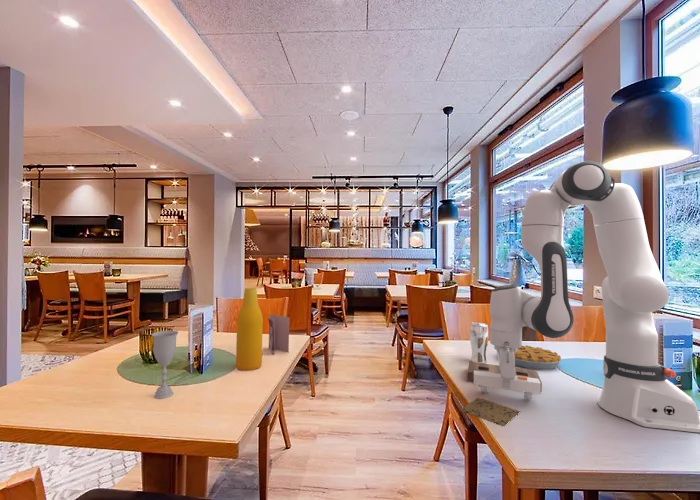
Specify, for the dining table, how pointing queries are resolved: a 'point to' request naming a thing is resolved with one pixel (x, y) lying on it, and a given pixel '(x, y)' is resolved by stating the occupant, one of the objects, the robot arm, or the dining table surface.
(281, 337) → the greeting card
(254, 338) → the beer bottle
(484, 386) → the power strip
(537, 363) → the pie
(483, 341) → the beer glass
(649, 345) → the robot arm
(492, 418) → the seeded crispbread
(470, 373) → the socket board
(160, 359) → the chalice
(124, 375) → the dining table surface
